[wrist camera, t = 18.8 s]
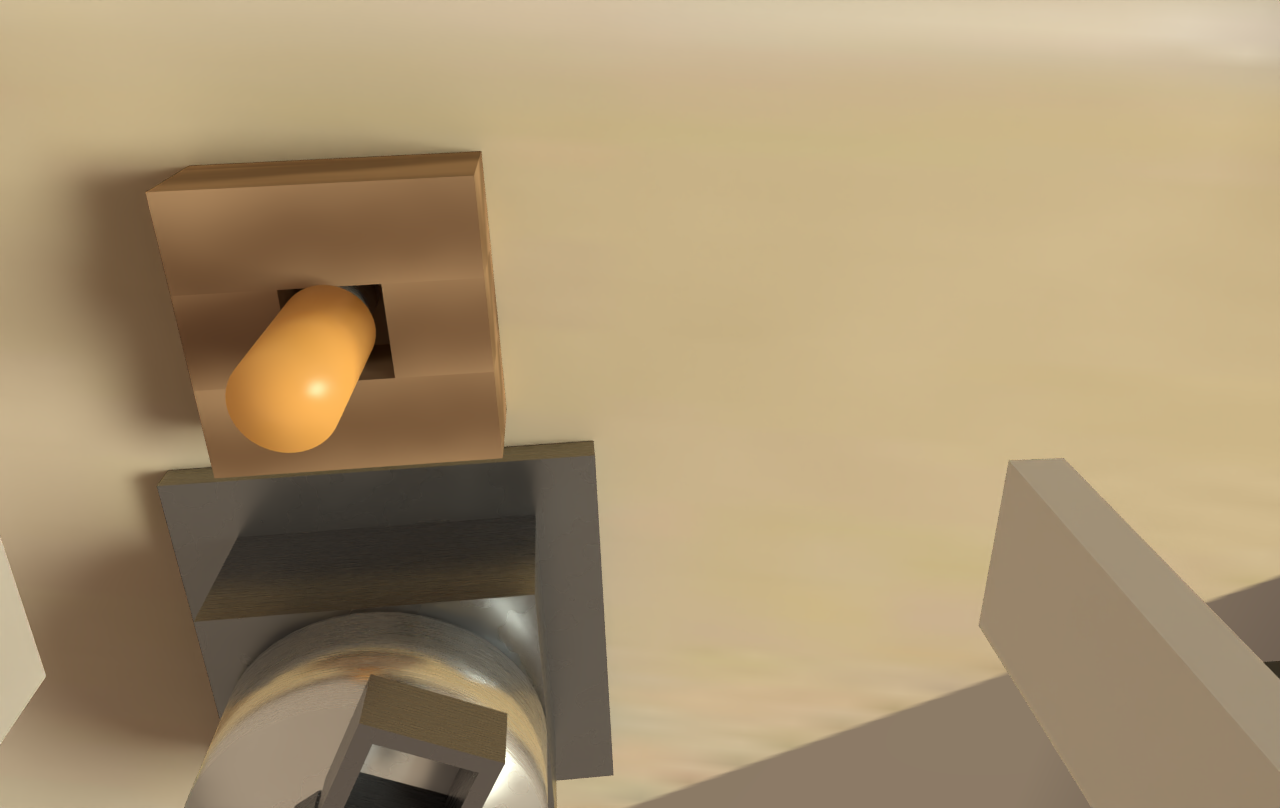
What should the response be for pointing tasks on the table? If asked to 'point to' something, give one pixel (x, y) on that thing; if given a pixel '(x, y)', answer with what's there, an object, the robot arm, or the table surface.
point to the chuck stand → (412, 569)
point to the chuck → (378, 722)
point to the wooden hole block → (343, 256)
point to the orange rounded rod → (304, 368)
